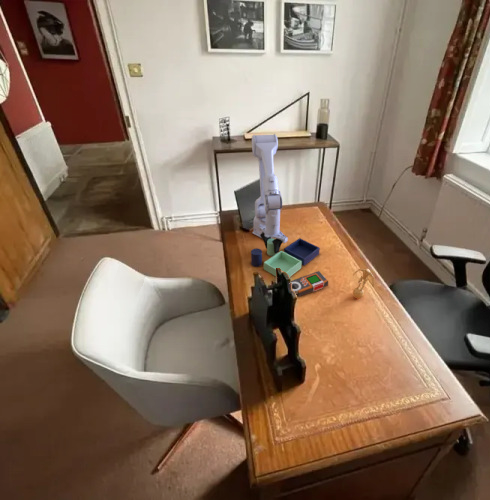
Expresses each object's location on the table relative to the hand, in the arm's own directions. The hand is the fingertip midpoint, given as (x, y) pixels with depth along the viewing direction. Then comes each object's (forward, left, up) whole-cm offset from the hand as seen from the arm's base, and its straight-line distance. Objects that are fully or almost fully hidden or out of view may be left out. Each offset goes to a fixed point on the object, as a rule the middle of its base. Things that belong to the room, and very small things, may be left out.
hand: (272, 249), depth 134 cm
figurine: (+41, +2, -2) cm, 41 cm away
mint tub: (+10, -5, -2) cm, 11 cm away
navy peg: (0, -10, -2) cm, 10 cm away
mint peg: (0, 0, -2) cm, 2 cm away
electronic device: (+24, -7, -2) cm, 25 cm away
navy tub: (+10, +7, -2) cm, 13 cm away
